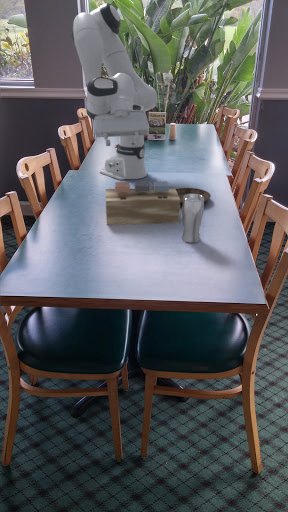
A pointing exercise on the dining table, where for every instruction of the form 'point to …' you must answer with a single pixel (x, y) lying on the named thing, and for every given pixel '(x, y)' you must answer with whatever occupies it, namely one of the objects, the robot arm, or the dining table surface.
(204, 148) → the dining table surface
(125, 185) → the terracotta key
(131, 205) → the wooden key base
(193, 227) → the beer glass
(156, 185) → the slate key
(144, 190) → the charcoal key
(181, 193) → the plant saucer
